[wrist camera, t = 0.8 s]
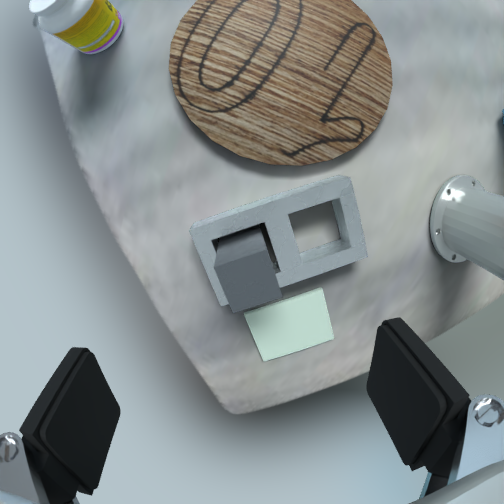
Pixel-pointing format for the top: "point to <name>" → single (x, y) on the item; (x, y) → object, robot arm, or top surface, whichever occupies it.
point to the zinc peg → (246, 269)
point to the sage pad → (290, 324)
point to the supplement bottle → (80, 22)
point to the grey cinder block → (288, 231)
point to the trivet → (281, 76)
